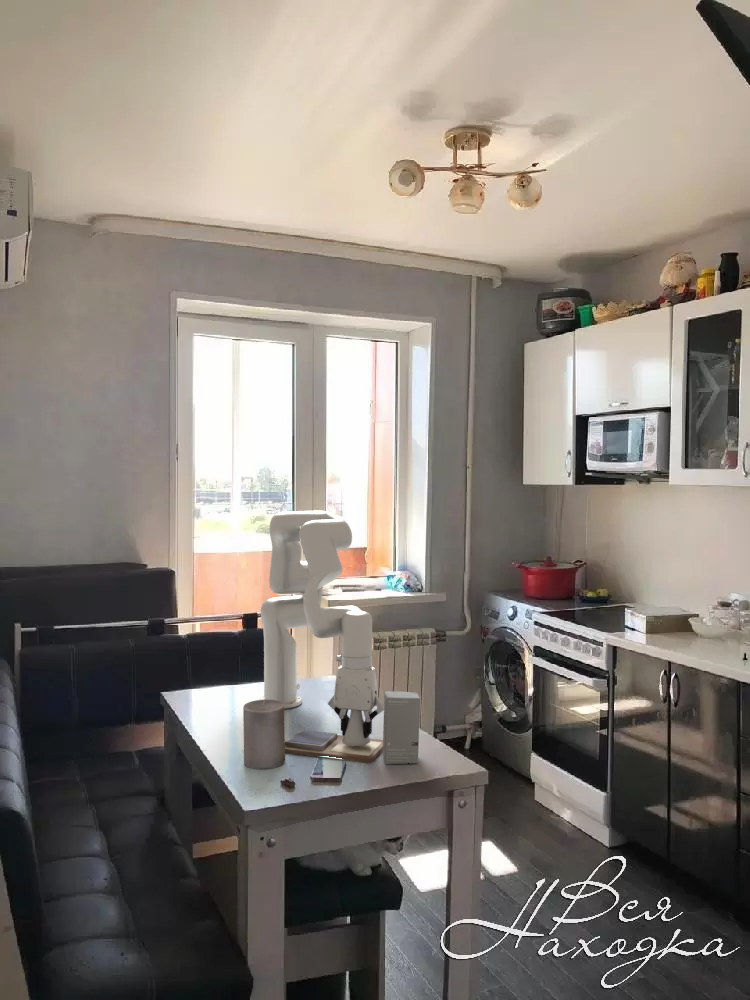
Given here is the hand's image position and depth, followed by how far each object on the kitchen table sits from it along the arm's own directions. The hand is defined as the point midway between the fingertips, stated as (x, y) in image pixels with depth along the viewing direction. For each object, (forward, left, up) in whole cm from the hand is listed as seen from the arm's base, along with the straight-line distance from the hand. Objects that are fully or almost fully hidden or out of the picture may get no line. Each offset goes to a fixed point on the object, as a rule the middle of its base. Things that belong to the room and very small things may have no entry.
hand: (356, 734), depth 200 cm
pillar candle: (+15, -18, -4) cm, 23 cm away
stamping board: (0, -6, -4) cm, 7 cm away
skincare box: (+2, +12, -4) cm, 13 cm away
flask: (0, 0, -2) cm, 2 cm away
